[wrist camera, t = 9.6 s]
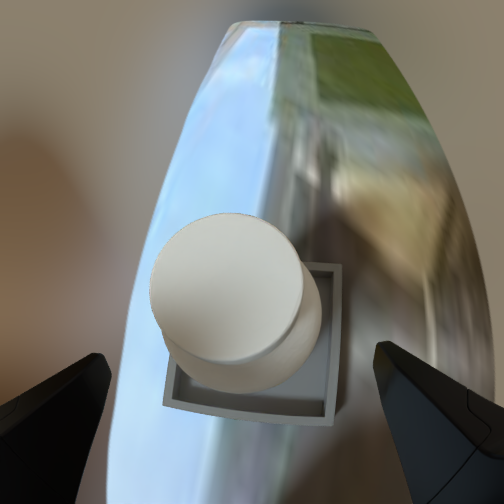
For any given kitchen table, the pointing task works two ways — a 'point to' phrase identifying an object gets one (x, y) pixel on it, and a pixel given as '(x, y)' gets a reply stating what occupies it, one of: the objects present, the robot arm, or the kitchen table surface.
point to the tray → (288, 392)
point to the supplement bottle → (235, 303)
